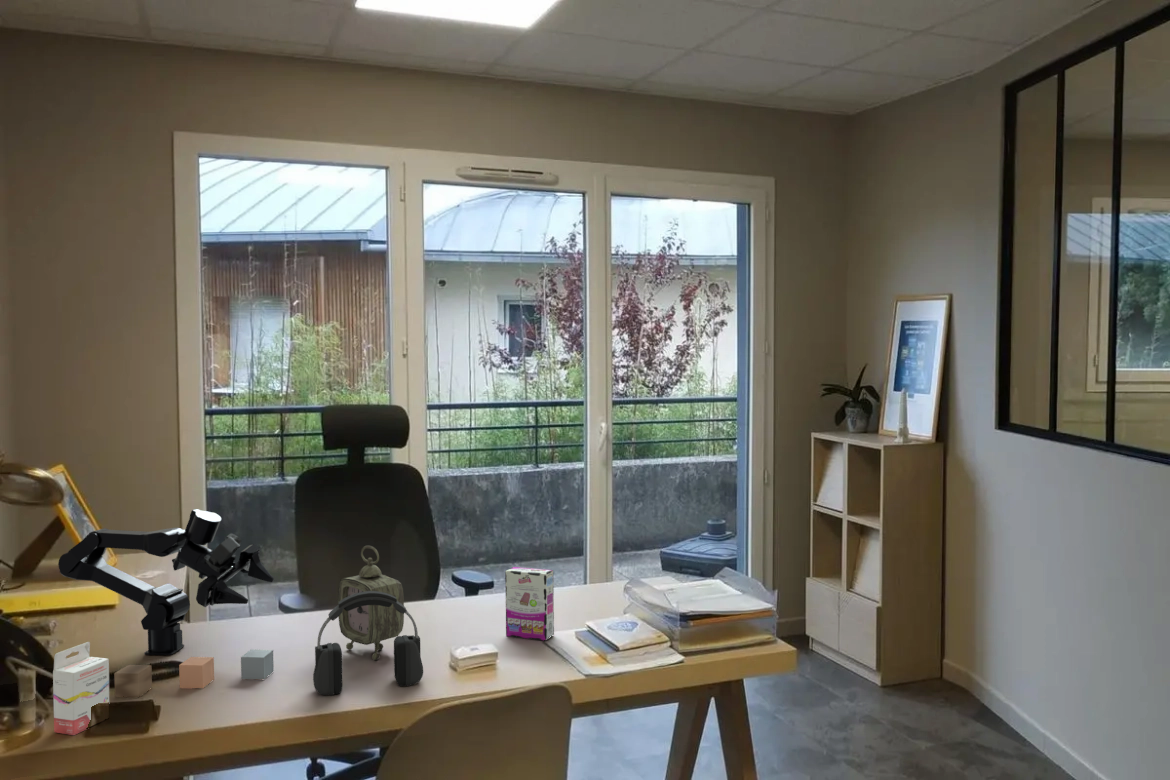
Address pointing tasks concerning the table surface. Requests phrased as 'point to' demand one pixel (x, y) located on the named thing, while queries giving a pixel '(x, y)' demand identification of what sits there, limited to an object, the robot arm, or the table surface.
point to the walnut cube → (133, 680)
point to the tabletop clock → (370, 607)
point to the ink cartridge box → (78, 688)
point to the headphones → (330, 654)
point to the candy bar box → (529, 603)
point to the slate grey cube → (257, 664)
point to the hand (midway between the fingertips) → (260, 590)
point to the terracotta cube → (196, 672)
